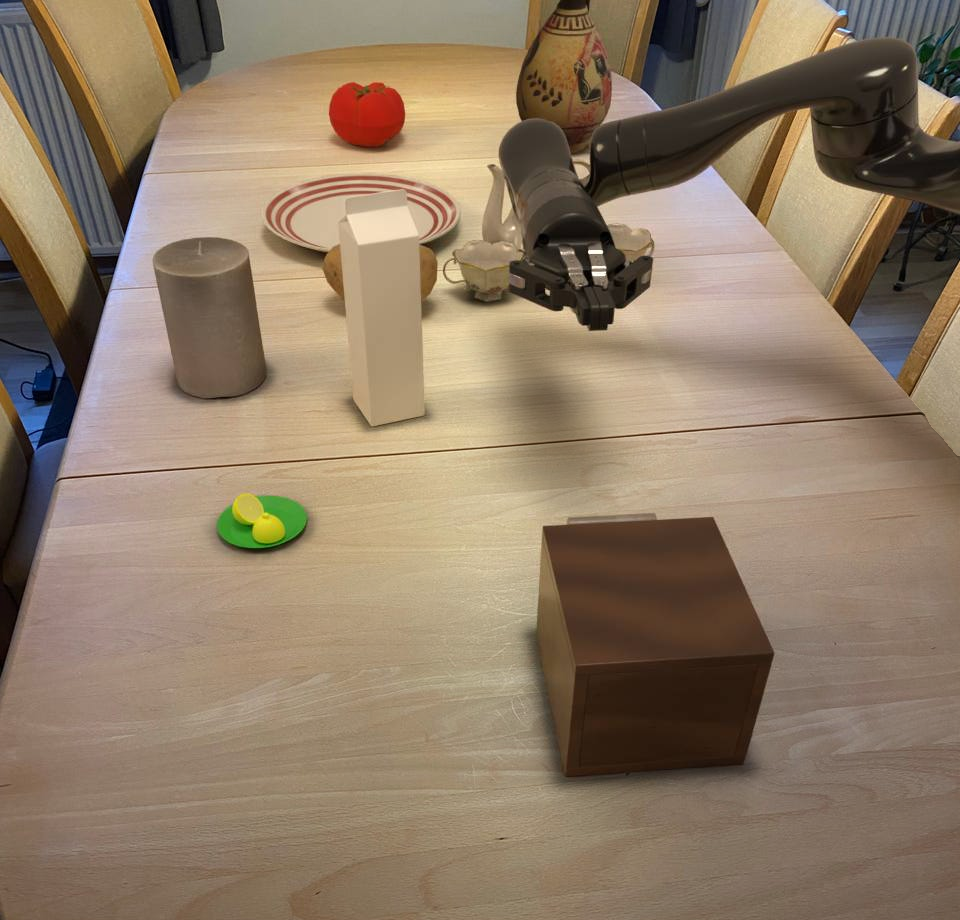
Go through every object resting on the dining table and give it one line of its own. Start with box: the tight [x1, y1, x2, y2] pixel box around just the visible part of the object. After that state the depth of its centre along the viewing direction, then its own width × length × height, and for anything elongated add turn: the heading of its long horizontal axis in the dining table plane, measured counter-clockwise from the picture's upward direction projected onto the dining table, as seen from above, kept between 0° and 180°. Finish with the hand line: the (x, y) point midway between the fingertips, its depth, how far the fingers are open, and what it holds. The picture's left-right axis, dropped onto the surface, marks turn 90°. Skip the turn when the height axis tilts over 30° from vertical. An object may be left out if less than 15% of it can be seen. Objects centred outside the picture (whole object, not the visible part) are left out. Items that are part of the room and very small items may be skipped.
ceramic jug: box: [515, 0, 613, 155], centre depth 162 cm, size 17×15×30 cm
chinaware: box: [442, 158, 656, 302], centre depth 128 cm, size 28×17×17 cm, turn 114°
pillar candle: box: [152, 236, 268, 399], centre depth 108 cm, size 10×10×15 cm
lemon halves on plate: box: [216, 492, 308, 549], centre depth 92 cm, size 8×8×3 cm
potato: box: [322, 244, 439, 304], centre depth 123 cm, size 10×14×8 cm
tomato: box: [328, 81, 406, 148], centre depth 170 cm, size 14×13×9 cm
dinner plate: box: [260, 172, 462, 253], centre depth 143 cm, size 28×27×3 cm
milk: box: [338, 189, 426, 427], centre depth 101 cm, size 6×6×22 cm
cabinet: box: [535, 516, 775, 777], centre depth 74 cm, size 15×13×11 cm
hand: (599, 319), depth 81 cm, fingers closed
